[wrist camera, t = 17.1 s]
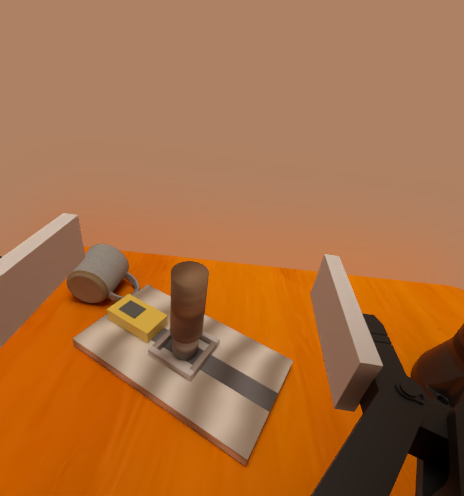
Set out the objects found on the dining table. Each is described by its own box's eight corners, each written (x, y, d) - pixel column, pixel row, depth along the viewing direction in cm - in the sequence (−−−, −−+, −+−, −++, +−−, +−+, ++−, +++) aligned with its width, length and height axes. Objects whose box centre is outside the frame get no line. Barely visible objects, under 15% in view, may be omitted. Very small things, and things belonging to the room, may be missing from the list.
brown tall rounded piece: (206, 346, 43) (215, 270, 36) (188, 368, 40) (194, 289, 32) (182, 332, 44) (186, 257, 37) (162, 352, 41) (163, 273, 34)
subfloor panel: (290, 367, 44) (294, 355, 42) (245, 466, 32) (249, 454, 31) (147, 291, 54) (147, 279, 52) (74, 345, 42) (71, 332, 41)
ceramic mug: (66, 302, 49) (58, 265, 45) (91, 273, 56) (86, 239, 52) (128, 313, 49) (126, 277, 45) (145, 283, 56) (145, 249, 52)
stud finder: (167, 324, 46) (167, 314, 44) (147, 343, 42) (147, 332, 41) (129, 302, 48) (128, 293, 47) (107, 318, 45) (106, 308, 44)
